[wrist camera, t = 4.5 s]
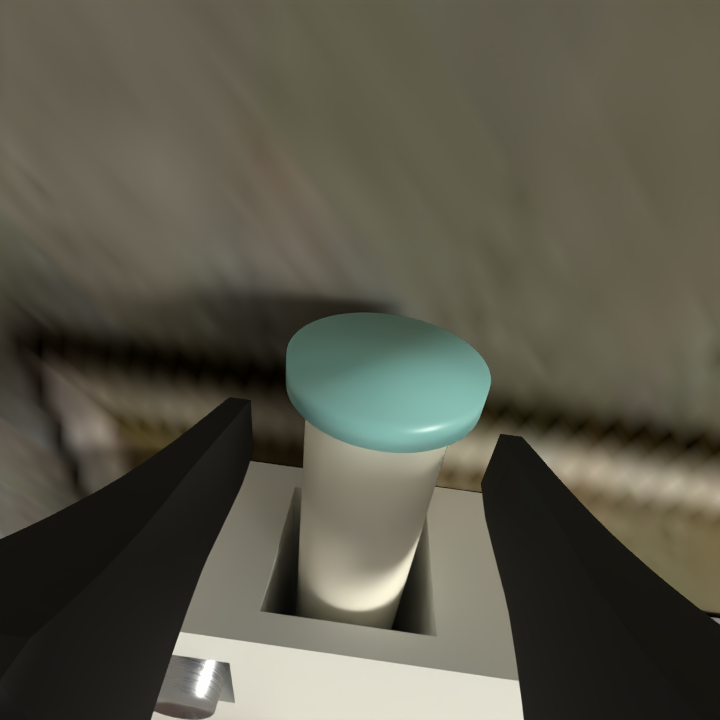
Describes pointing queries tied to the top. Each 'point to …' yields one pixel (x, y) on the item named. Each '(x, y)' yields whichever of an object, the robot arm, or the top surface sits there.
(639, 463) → the top surface
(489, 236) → the top surface
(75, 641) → the robot arm
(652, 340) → the top surface
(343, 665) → the housing
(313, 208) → the top surface
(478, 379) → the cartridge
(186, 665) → the plunger
